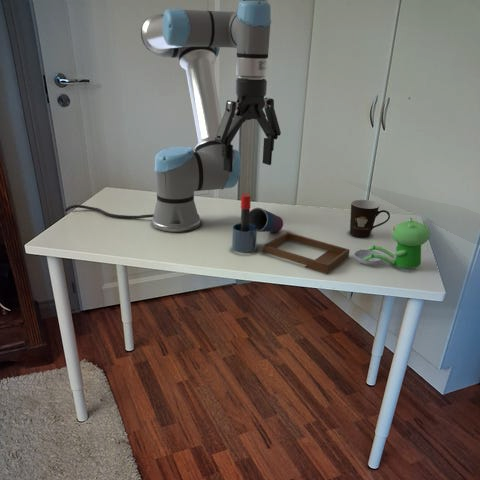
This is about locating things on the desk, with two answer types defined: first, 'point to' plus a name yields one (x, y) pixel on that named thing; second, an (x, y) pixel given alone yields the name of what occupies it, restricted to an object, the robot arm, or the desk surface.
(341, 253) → the pen tray
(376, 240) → the desk surface
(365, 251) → the shallow grey dish
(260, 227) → the cup
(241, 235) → the pen cup
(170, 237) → the desk surface
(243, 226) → the marker
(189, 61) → the robot arm
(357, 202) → the coffee mug
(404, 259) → the toy character
